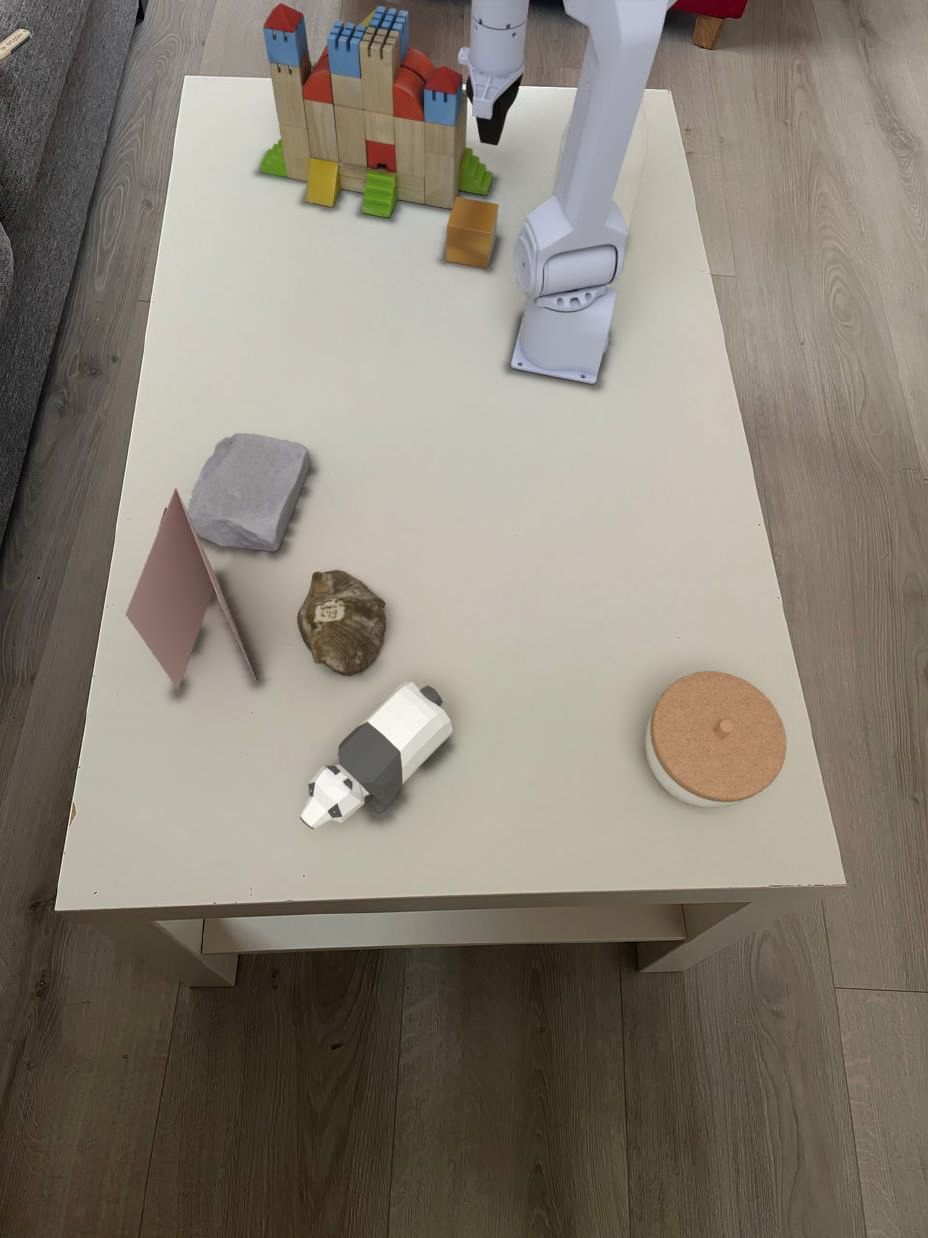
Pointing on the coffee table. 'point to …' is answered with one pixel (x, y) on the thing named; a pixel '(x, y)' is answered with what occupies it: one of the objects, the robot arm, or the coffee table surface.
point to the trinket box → (714, 740)
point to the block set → (368, 115)
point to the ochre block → (471, 232)
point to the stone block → (248, 491)
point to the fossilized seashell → (342, 622)
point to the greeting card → (175, 592)
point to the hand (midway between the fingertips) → (489, 140)
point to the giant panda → (379, 755)
